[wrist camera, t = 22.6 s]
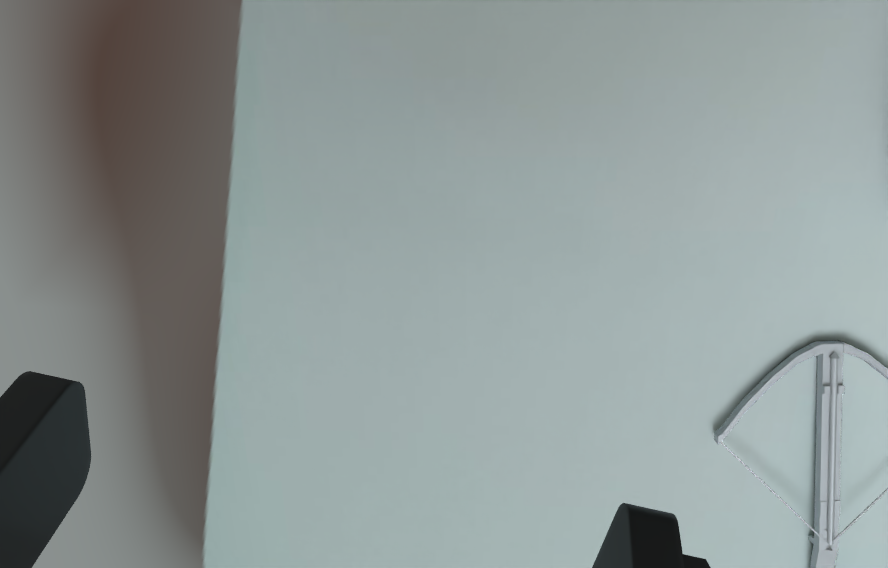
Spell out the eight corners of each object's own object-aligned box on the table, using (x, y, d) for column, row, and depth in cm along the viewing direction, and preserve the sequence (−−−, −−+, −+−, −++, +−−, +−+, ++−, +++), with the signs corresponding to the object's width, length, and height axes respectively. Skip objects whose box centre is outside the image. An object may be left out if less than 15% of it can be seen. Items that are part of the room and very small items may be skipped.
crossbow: (710, 341, 47) (720, 348, 45) (934, 334, 47) (955, 341, 45) (709, 601, 49) (719, 620, 47) (924, 598, 49) (944, 616, 47)
